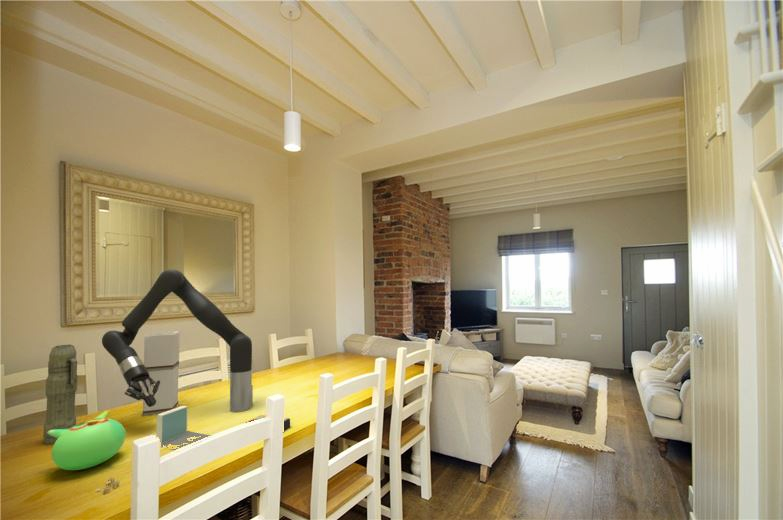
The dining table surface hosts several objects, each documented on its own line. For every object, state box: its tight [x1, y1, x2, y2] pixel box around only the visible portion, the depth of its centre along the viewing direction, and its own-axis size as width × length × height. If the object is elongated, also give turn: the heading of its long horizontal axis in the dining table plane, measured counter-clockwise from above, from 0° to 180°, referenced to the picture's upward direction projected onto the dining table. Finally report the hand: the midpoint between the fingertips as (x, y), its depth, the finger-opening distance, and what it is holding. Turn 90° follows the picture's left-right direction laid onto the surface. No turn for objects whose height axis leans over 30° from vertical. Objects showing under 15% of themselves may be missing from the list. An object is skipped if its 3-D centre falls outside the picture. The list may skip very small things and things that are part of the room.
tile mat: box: [160, 430, 211, 451], centre depth 129 cm, size 16×13×1 cm
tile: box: [156, 405, 188, 444], centre depth 131 cm, size 3×10×10 cm, turn 157°
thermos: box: [42, 344, 78, 446], centre depth 134 cm, size 9×12×35 cm
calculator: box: [245, 414, 291, 432], centre depth 137 cm, size 11×4×15 cm
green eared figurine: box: [47, 410, 126, 471], centre depth 113 cm, size 18×17×15 cm
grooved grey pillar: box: [142, 331, 181, 417], centre depth 163 cm, size 11×11×35 cm
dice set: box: [95, 477, 120, 495], centre depth 99 cm, size 5×5×2 cm
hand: (152, 405), depth 136 cm, fingers closed
